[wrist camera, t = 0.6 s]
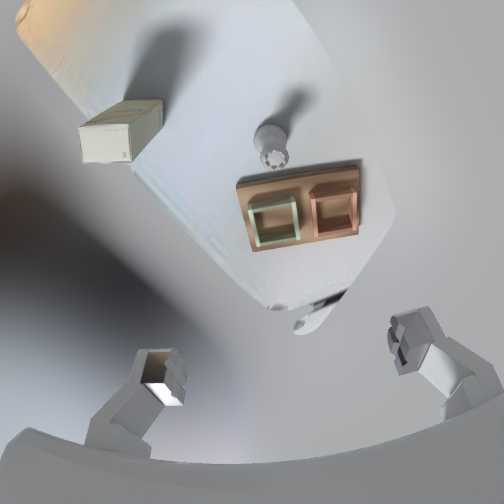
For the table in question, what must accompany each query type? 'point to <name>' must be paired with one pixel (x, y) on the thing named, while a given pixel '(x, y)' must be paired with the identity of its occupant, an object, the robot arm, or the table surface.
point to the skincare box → (120, 131)
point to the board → (301, 207)
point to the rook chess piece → (271, 146)
